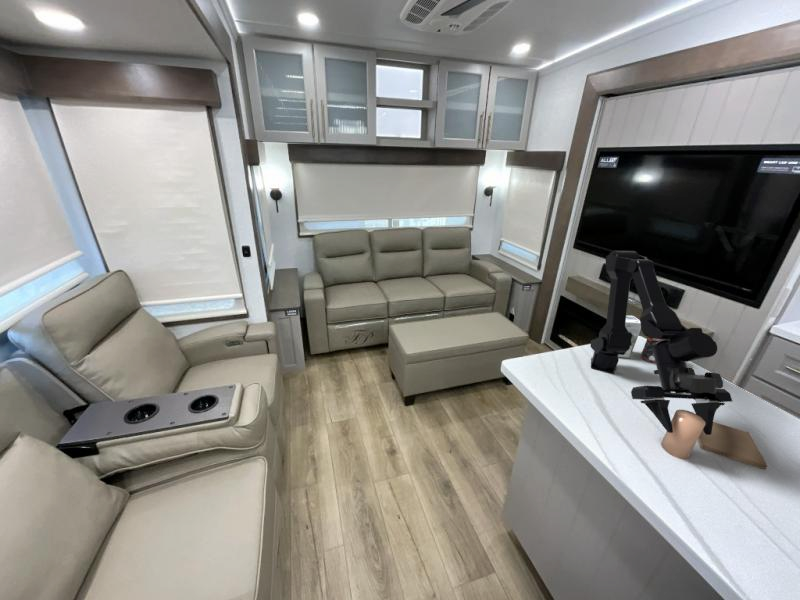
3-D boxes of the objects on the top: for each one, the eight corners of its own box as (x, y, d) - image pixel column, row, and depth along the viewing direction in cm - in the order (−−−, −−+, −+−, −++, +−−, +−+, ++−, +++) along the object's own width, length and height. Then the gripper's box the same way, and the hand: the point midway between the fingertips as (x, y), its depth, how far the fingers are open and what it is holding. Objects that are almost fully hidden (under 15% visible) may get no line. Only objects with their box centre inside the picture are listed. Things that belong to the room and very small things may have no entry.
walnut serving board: (700, 448, 75) (702, 444, 74) (690, 419, 83) (692, 415, 83) (765, 469, 69) (767, 465, 69) (746, 435, 78) (748, 432, 78)
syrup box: (621, 349, 115) (633, 314, 109) (630, 358, 109) (643, 322, 103) (605, 348, 115) (616, 314, 109) (613, 357, 110) (625, 321, 104)
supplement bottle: (655, 365, 105) (667, 337, 101) (636, 357, 110) (647, 329, 106) (665, 361, 108) (676, 332, 103) (646, 352, 113) (656, 325, 108)
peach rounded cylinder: (662, 452, 74) (677, 420, 70) (659, 437, 78) (673, 406, 74) (691, 462, 71) (708, 430, 67) (686, 446, 75) (702, 414, 71)
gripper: (654, 357, 69) (673, 432, 64) (743, 360, 68) (770, 438, 62) (623, 365, 80) (637, 431, 74) (700, 368, 78) (720, 435, 73)
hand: (689, 433), depth 71 cm, fingers open, 8 cm apart
